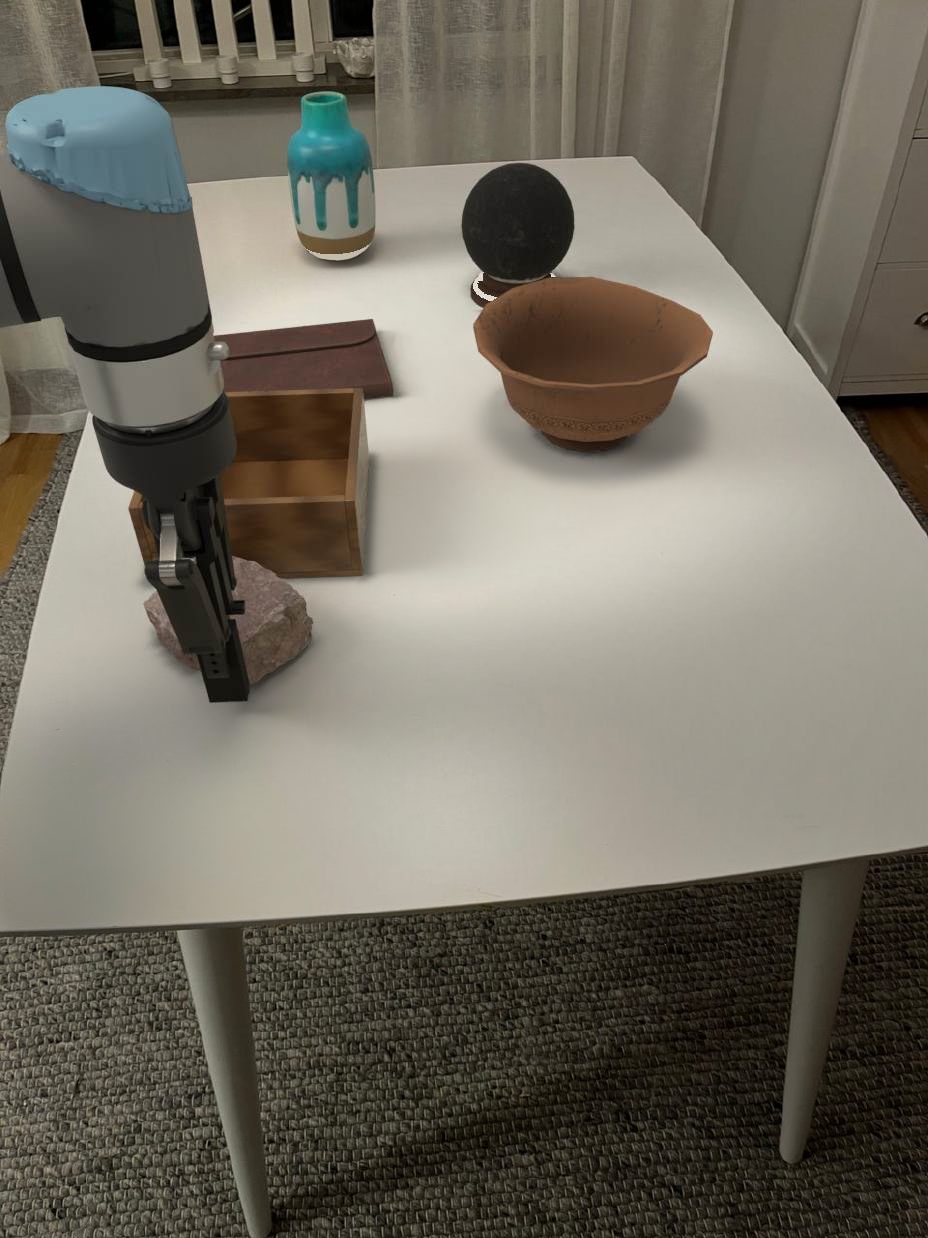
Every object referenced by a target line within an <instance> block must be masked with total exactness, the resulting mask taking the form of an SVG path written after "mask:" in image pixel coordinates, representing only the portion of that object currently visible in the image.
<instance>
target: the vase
mask: <svg viewBox="0 0 928 1238" xmlns="http://www.w3.org/2000/svg"><path fill="white" fill-rule="evenodd" d="M300 106H301V107H300V108H301V109H300V110H301V126H300V129H298V130H297V131H295V132H294V133H293V134H292V135H291V136H290V138H289V141H288V144H287V152H286V162H287V163H286V165H287V178H288V179H287V180H288V188H289V196H290V197H289V198H290V204H291V211H292V216H293V220H294V225H295V229H296V233H297V237H298V240H299V242H300V243H301V245H302V246H303V248H304V247H305V248H306V249H308V250H310V251H312V252H316V253H320V254H343V253H350V252H354V251H357V250H360V249H362V248H364V247H366V246H367V245H369V244H370V243H371V242H373V240H374V237H375V234H376V233H375V232H376V214H377V213H376V206H377V205H376V189H375V188H376V187H375V175H374V165H373V159H372V153H371V148H370V144H369V142H368V140H367V137H366V135H365V134H364V133H363V132H362V131H361V129H358V128H357V127H355V126H353V125H352V123H351V120H350V115H349V108H348V101H347V97H346V96H345V94H343V93H341V92H337V91H316V92H311V93H307V94H305V95H303V96H302V97H301V100H300ZM371 244H372V243H371ZM305 248H304V249H305ZM306 249H305V250H306Z"/></svg>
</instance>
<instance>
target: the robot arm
mask: <svg viewBox="0 0 928 1238" xmlns="http://www.w3.org/2000/svg"><path fill="white" fill-rule="evenodd" d="M4 126H5V131H6V136H7V141H6V145H5V146H6V149H7V150H6V151H7V152H3V153H0V329H3V328H7V327H14V326H20V325H24V324H25V325H27V324H30V323H37V322H42V320H46V319H53V318H61V321H62V324H63V325H64V331H65V334H66V338H67V343H68V344H67V345H68V348H69V350H70V354H71V359H72V362H73V364H74V368H75V371H76V375H77V379H78V382H79V386H80V389H81V392H82V396H83V401H84V403H85V406H86V408H87V410H88V411H89V414H91V415H92V416H91V422H92V427H93V430H94V434H95V437H96V440H97V444H98V447H99V450H100V451H99V452H100V453H101V457H102V460H103V464H104V466H105V469H106V471H107V473H108V475H109V476H110V477H111V478H112V479H113V480H114V481H116V482H117V484H119V485H121V486H123V487H125V488H127V489H130V490H132V491H133V492H134V491H136V492H138V493H139V494H141V495H142V496H144V497H145V498H146V499H144V500H143V503H142V511H143V516H144V520H145V523H146V526H147V528H148V529H149V530H150V531H152V533H153V537H154V541H155V544H156V548H157V552H158V555H159V557H158V558H153V560H147V561H146V564H145V565H144V570H143V571H144V575H145V579H146V581H147V582H148V583H149V584H150V585H151V586H152V587H153V588H154V589H155V591H156V590H157V592H158V595H159V597H160V599H161V602H162V604H163V606H164V609H165V611H166V613H167V616H168V618H169V620H170V623H171V625H172V627H173V630H174V632H175V634H176V636H177V639H178V642H179V643H180V646H181V648H182V650H183V653H184V654H197V657H198V661H199V665H200V669H201V670H200V669H199V670H200V672H201V677H202V680H203V684H204V687H205V691H206V695H207V698H208V702H209V704H213V703H215V704H217V703H238V702H239V703H240V702H242V703H243V702H249V697H250V690H251V686H250V683H249V678H248V674H247V669H246V665H245V660H244V656H243V651H242V647H241V642H240V638H239V633H238V629H237V624H236V620H235V619H230V616H229V615H244V614H245V600H233V596H232V591H234V590H235V588H236V585H237V579H236V578H235V572H234V565H233V558H232V552H231V545H230V538H229V531H228V524H227V517H226V510H225V503H224V496H223V490H222V481H221V473H222V472H223V471H224V470H226V468H227V467H228V466H229V465H230V464H231V462H232V461H233V459H234V457H235V454H236V449H237V442H236V437H235V432H234V426H233V421H232V416H231V411H230V405H229V400H228V397H227V395H226V394H225V392H224V391H223V388H224V379H223V374H222V368H221V363H220V360H224V359H227V357H228V356H229V347H228V345H227V344H226V343H225V342H215V340H214V336H215V335H214V333H215V327H214V324H213V316H212V310H211V303H210V298H209V293H208V287H207V282H206V274H205V269H204V263H203V258H202V254H201V248H200V247H201V246H200V241H199V236H198V231H197V230H198V229H197V225H196V224H197V223H196V218H195V214H194V206H193V205H194V204H193V196H191V193H190V190H189V186H188V182H187V179H186V173H185V169H184V165H183V161H182V157H181V153H180V148H179V145H178V140H177V136H176V132H175V129H174V123H173V119H172V118H171V116H170V114H169V112H168V111H167V110H166V109H165V108H164V107H163V106H162V105H161V104H160V103H159V102H158V101H157V100H156V99H155V98H153V97H152V96H150V95H148V94H146V93H143V92H141V91H138V90H135V89H131V88H125V87H119V86H105V85H99V86H98V85H97V86H96V85H94V86H81V87H70V88H62V89H58V90H57V91H56V92H52V93H45V94H37V95H33V96H31V97H28V98H26V99H24V100H21V101H20V102H18V103H16V104H14V106H13V107H12V108H11V109H10V110H9V112H8V113H7V115H6V118H5V125H4Z"/></svg>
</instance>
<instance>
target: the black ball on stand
mask: <svg viewBox="0 0 928 1238" xmlns="http://www.w3.org/2000/svg"><path fill="white" fill-rule="evenodd" d="M460 224H461V225H460V227H461V228H460V229H461V234H462V239H463V243H464V246H465V249H466V252H467V254H468V255H469V257H470V259H471V261H472V262H473V263H474V264H475V265H476V266H477V267H478V268H479V270H480V272H482V271H483V272H484V273H483V281H478V282H479V283H477V284H478V288H479V289H480V290H481V291H482V292H484V294H487V295H491V296H494V297H499V296H501V295H502V294H504V293H506V292H507V291H509V290H510V289H512V288H514V287H518V286H522V285H525V284H529V283H532V282H536V281H539V280H543V279H547V278H550V277H551V274H550V273H551V272H552V273H553V271H554V270H555V269H556V268H557V267H559V265H560V264H561V263H562V262H563V260H564V259H565V257H566V255H567V254H568V252H569V250H570V247H571V245H572V241H573V239H574V233H575V228H576V227H575V226H576V225H575V210H574V207H573V202H572V199H571V197H570V196H569V193H568V191H567V190H566V188H565V186H564V185H563V184H562V182H561V181H560V180H559V179H558V178H557V176H554V174H553V173H551V172H550V171H548V170H547V169H545V168H542V167H541V166H538V165H536V164H533V163H529V162H528V163H527V162H511V163H507V164H503V165H500V166H497V167H495V168H493V169H491V170H490V171H488V172H487V173H486V174H484V175H483V176H482V177H481V178H479V180H478V181H477V182H476V183H475V185H474V186H473V187H472V189H471V190H470V191H469V194H468V196H467V197H466V199H465V203H464V205H463V209H462V213H461V223H460ZM474 281H475V279H474V280H473V281H472V282H471V284H470V290H469V291H470V297H471V298H470V299H471V300H472V301H473V303H475V305H477V306H478V307H480V308H482V309H483V308H484V307H485V305H486V304H488V303H489V302H491V301H488V300H486V299H484V298H481V297H480V296H479V295H477V294H476V292H475V291H474V289H473V283H474Z"/></svg>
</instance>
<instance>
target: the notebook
mask: <svg viewBox="0 0 928 1238" xmlns="http://www.w3.org/2000/svg"><path fill="white" fill-rule="evenodd" d="M214 340H215V342H225V343H226V344H227V345H228V347H229V356H228V357H227V359H224V360H220V363H221V368H222V374H223V379H224V388H223V391H224V392H249V391H281V390H313V389H344V388H363V395H364V400H366V399H375V398H383V397H384V398H385V397H393V396H394V385H393V380H392V376H391V374H390V370H389V367H388V364H387V361H386V358H385V355H384V352H383V349H382V346H381V345H382V344H381V342H380V339H379V336H378V333H377V327H376V324H375V322H374V319H373V318H365V319H357V320H348V321H338V322H330V323H329V322H328V323H321V324H320V323H318V324H310V325H301V326H291V327H281V328H271V329H264V330H253V331H245V332H244V331H243V332H234V333H227V334H224V333H223V334H217V335H214Z"/></svg>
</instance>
